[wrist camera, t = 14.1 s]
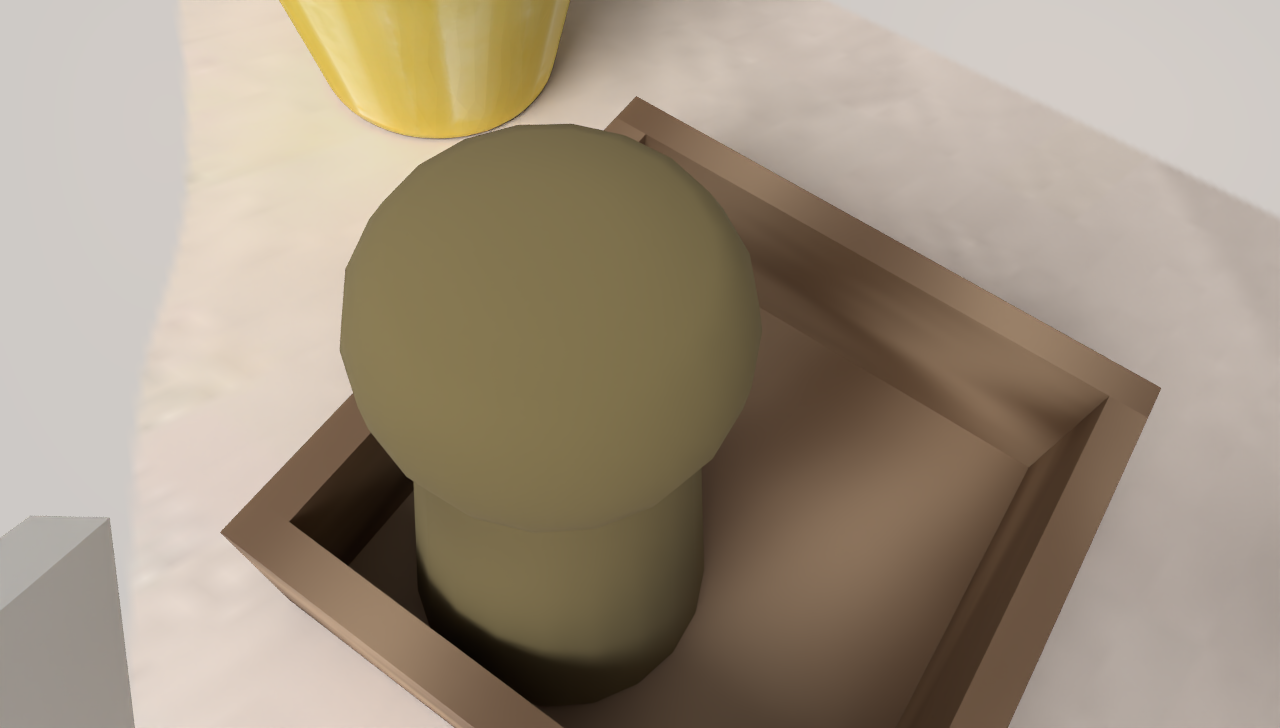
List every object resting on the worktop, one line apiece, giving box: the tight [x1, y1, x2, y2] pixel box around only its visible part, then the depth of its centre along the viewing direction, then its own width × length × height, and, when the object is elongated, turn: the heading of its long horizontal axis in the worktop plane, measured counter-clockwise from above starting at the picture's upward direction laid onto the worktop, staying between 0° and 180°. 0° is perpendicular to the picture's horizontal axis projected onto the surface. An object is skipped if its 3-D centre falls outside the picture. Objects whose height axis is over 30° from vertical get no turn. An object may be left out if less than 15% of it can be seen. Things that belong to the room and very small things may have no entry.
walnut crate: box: [220, 96, 1161, 728], centre depth 19 cm, size 13×13×4 cm
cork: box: [340, 124, 762, 707], centre depth 15 cm, size 6×6×11 cm
